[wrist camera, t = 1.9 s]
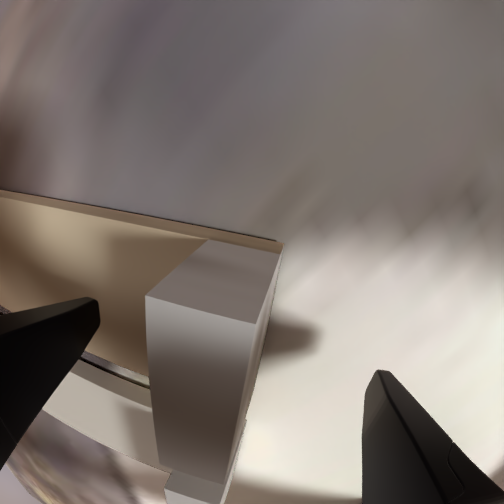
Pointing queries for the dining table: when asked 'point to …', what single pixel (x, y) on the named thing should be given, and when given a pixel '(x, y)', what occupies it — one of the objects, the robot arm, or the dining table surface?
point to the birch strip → (154, 310)
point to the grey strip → (127, 427)
